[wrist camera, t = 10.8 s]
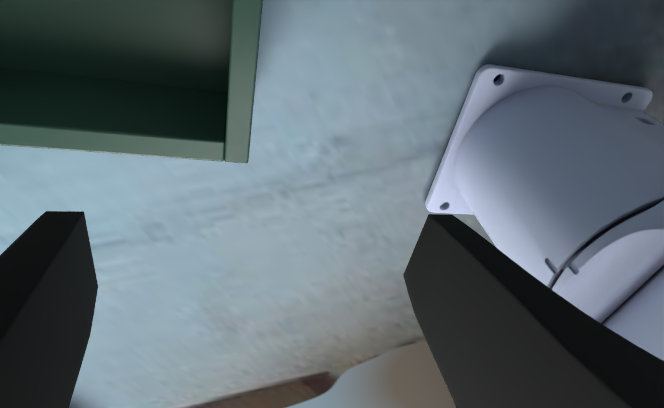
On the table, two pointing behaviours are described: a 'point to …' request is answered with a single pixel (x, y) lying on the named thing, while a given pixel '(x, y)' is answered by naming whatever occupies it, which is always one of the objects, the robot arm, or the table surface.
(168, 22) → the tote
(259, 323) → the table surface
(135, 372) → the table surface
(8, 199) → the table surface
